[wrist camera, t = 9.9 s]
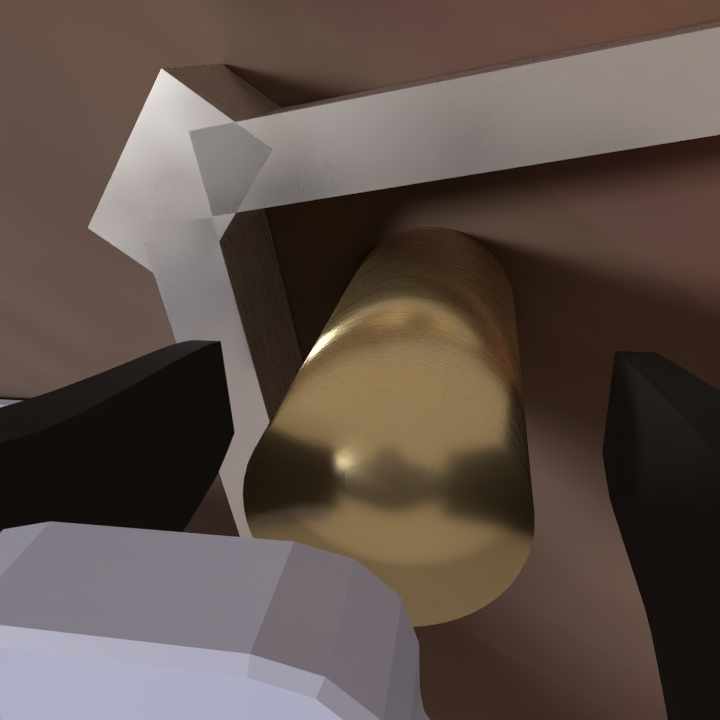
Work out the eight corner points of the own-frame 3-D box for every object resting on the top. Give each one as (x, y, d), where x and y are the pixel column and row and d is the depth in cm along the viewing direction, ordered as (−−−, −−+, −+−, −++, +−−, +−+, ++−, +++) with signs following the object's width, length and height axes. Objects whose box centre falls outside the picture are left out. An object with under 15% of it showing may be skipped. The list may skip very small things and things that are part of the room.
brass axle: (509, 384, 17) (525, 640, 9) (354, 378, 17) (259, 612, 10) (518, 227, 15) (544, 396, 8) (345, 227, 16) (224, 384, 8)
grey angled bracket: (774, 55, 13) (851, 58, 10) (323, 547, 20) (297, 625, 17) (389, -268, 12) (359, -360, 9) (62, 378, 19) (-8, 433, 16)
